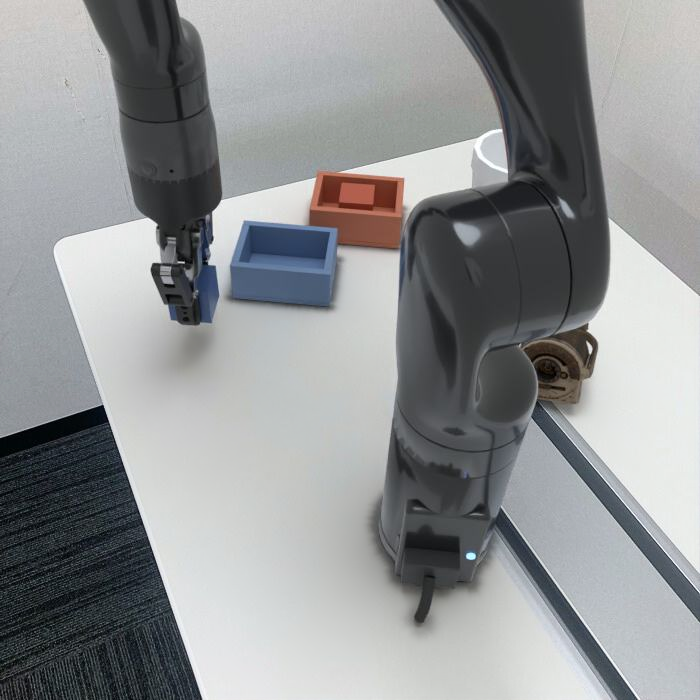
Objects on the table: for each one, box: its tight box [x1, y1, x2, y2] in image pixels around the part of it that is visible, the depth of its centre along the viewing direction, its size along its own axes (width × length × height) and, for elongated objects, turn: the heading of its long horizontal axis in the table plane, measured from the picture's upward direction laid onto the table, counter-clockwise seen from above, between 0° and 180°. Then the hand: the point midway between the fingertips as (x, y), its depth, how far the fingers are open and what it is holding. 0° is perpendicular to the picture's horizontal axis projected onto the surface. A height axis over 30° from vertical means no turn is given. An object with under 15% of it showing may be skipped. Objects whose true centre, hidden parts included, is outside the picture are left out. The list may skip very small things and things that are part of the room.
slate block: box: [167, 262, 220, 324], centre depth 73 cm, size 4×4×4 cm
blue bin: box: [229, 220, 338, 308], centre depth 83 cm, size 8×11×5 cm
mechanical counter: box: [518, 322, 599, 405], centre depth 74 cm, size 7×13×10 cm
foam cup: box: [470, 128, 508, 188], centre depth 85 cm, size 10×9×13 cm
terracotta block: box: [339, 183, 375, 211], centre depth 90 cm, size 4×4×4 cm
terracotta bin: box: [308, 170, 405, 250], centre depth 90 cm, size 8×11×5 cm
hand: (195, 305), depth 74 cm, fingers closed on slate block, 4 cm apart
